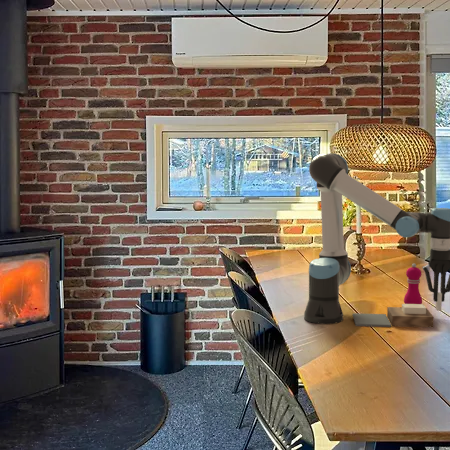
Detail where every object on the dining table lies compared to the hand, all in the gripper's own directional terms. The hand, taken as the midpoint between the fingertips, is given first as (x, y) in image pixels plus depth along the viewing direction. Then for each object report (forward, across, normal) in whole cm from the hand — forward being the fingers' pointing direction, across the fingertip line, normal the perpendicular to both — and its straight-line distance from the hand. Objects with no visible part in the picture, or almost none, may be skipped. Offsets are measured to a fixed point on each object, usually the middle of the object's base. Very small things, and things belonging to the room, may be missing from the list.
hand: (438, 309), depth 229 cm
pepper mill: (+5, -7, +16) cm, 18 cm away
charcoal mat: (+5, -25, 0) cm, 26 cm away
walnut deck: (+5, -11, 0) cm, 12 cm away
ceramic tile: (+1, -9, 0) cm, 9 cm away
